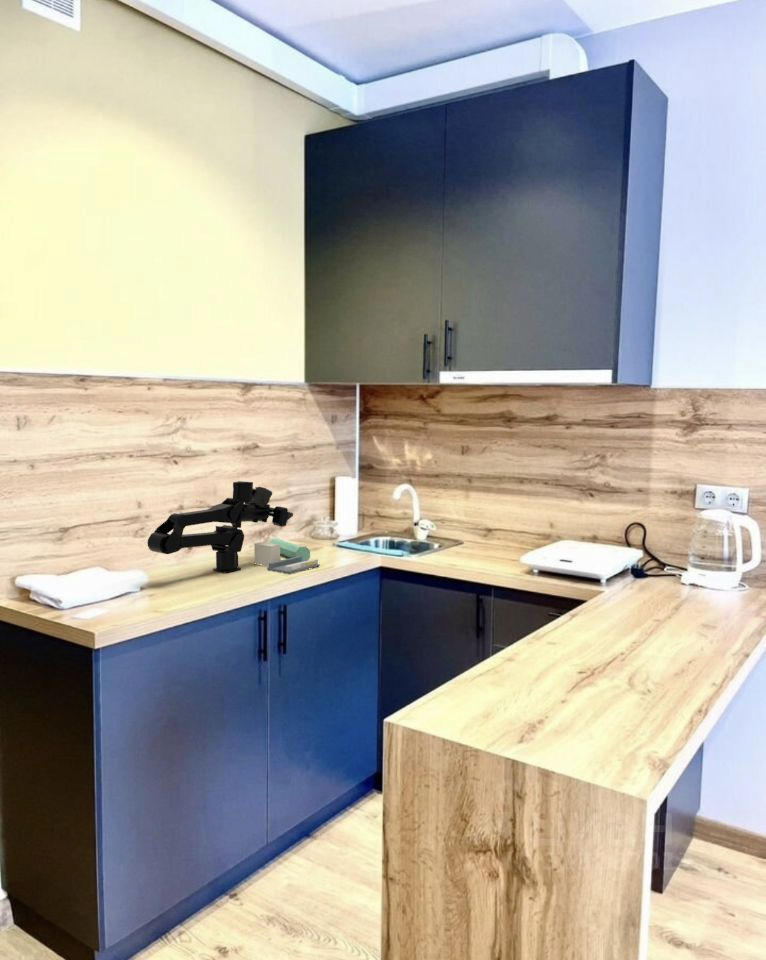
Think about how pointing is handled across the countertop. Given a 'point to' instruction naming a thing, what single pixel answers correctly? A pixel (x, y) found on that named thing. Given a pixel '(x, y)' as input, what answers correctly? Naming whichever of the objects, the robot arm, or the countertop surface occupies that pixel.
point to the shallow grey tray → (292, 565)
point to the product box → (266, 553)
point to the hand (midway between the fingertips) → (283, 512)
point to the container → (292, 549)
